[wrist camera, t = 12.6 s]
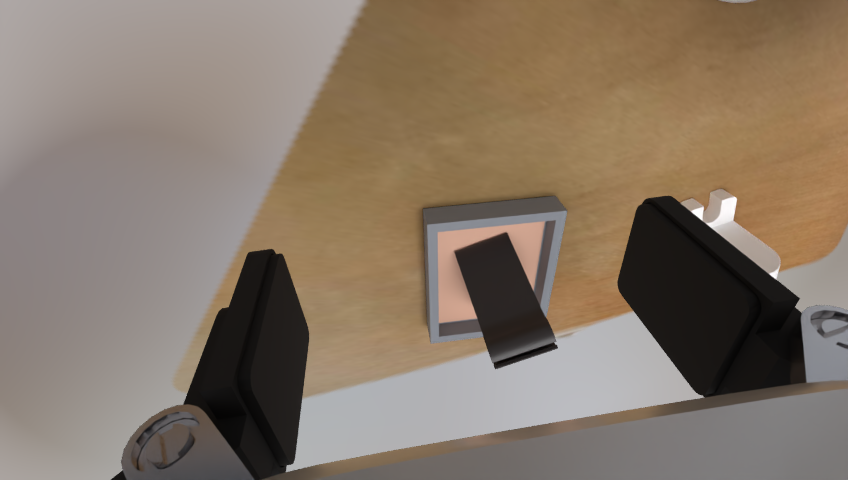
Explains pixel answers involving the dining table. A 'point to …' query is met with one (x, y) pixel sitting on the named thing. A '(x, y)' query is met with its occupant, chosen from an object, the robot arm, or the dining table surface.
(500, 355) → the phone stand
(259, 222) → the dining table surface
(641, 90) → the dining table surface
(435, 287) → the grey tray
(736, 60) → the dining table surface
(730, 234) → the cable organizer
